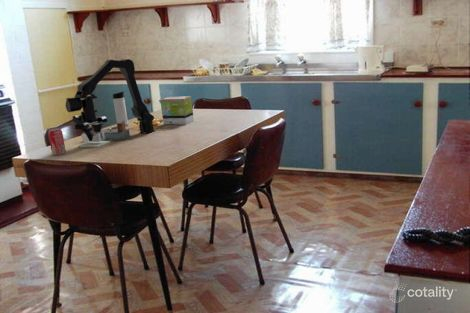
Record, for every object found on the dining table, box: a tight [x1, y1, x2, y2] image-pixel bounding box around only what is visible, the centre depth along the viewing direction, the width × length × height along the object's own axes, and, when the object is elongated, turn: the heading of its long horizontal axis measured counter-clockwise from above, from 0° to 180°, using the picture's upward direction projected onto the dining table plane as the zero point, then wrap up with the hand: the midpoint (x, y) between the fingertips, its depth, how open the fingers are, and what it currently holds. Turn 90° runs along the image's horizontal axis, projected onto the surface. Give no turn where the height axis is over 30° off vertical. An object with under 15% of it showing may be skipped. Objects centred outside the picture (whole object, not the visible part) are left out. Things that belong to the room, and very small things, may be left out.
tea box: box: [160, 95, 195, 125], centre depth 295 cm, size 15×10×15 cm
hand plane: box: [90, 122, 131, 141], centre depth 271 cm, size 22×7×8 cm, turn 67°
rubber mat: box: [78, 140, 111, 148], centre depth 260 cm, size 12×10×1 cm
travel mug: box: [112, 91, 129, 127], centre depth 303 cm, size 6×7×20 cm
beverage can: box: [47, 127, 67, 156], centre depth 244 cm, size 6×6×12 cm
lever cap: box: [81, 131, 106, 143], centre depth 259 cm, size 10×5×5 cm, turn 67°
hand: (94, 139), depth 259 cm, fingers closed on lever cap, 5 cm apart
